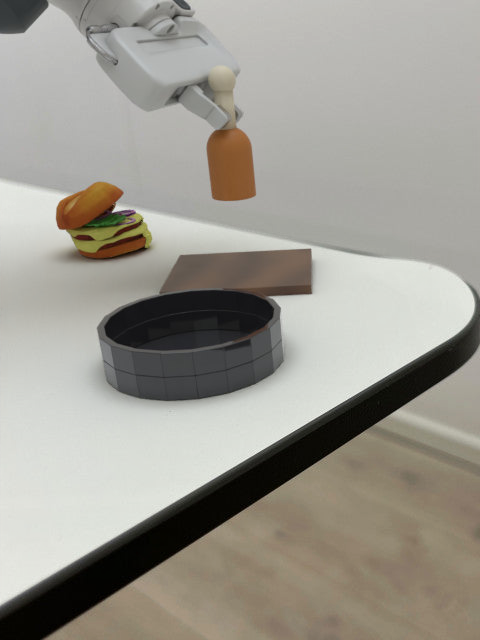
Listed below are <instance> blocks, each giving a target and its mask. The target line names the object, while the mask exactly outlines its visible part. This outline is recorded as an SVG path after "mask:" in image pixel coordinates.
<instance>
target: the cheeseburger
mask: <svg viewBox="0 0 480 640" xmlns="http://www.w3.org/2000/svg"><path fill="white" fill-rule="evenodd" d="M123 195H124V191H123V189H121V188H119V187H118V186H116V185H114V184H112V183H109V182H106V181H96V182H94V183H92V184H91V185H89V186H88V187H87V188H85V189H84V190H80V191H77V192H76V193H75V192H74V193H73V194H71V195H68V196H66V197H64V198H62V199H61V200H59V202H58V204H57V206H56V210H55V222H56V227H57V228H58V230H61V231H66V233H68V234H69V236H70V238H71V240H72V242H73V243H74V246H75V247H76V249H77V251H78V252H79V254H80V255H82V256H85V257H87V258H92V259H98V260H99V259H101V260H102V259H109V258H114V257H117V256H120V255H124V254H127V253H130V252H134V251H137V250H139V249H142V248H145V249H148V248H150V246H151V244H152V241H153V236H152V235H153V234H152V232H151V231H150V230H149V229H148V224H147V222H145V220H144V219H145V218H144V216H143V215H142V214H141V213H139V212H137V211H136V210H135V209H122V210H118V211H114V210H115V209H116V206H117V202H118V201H119V200H120V199H121V198H122V196H123Z"/></svg>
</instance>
